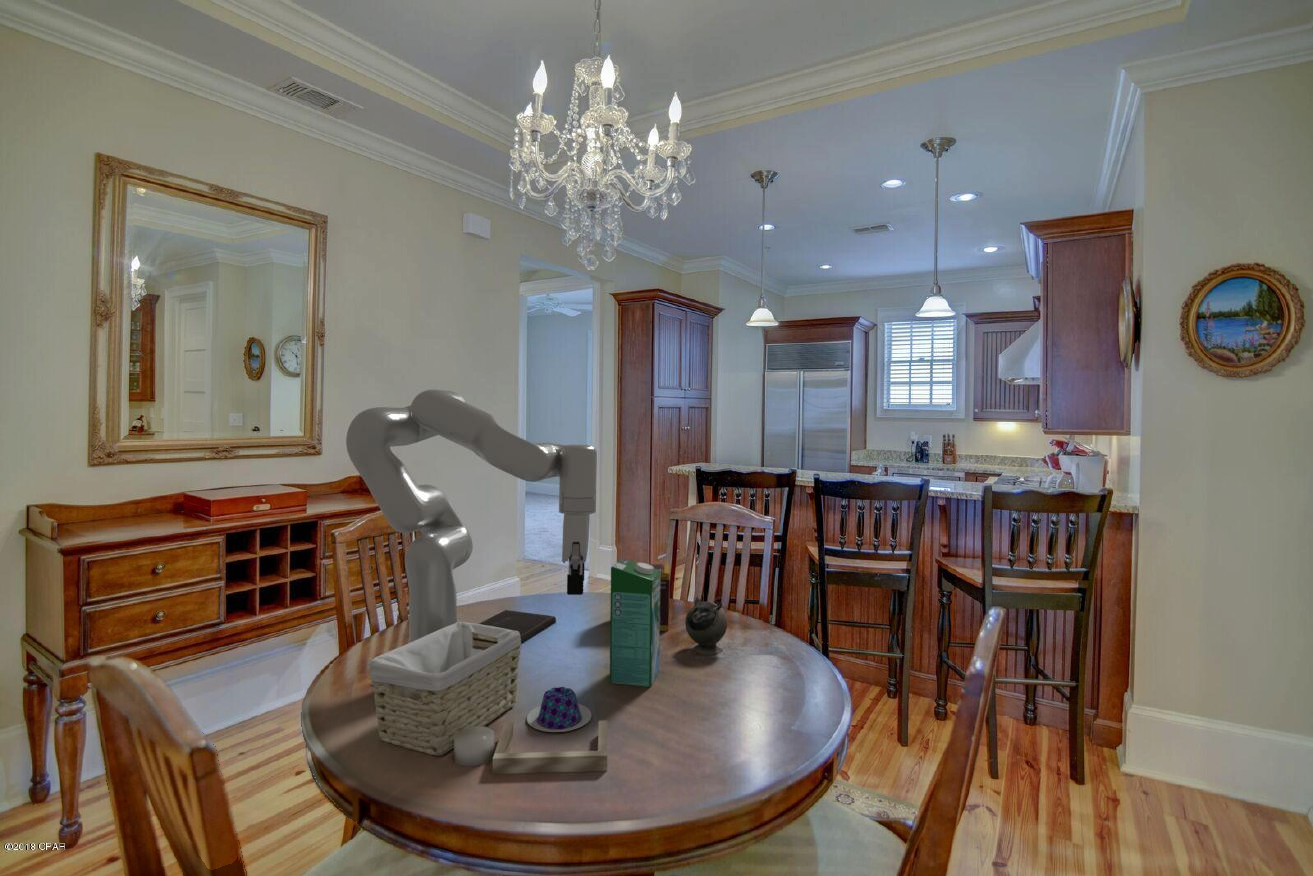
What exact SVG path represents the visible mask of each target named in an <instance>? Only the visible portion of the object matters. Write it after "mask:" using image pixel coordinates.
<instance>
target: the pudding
mask: <svg viewBox="0 0 1313 876" xmlns="http://www.w3.org/2000/svg"><path fill="white" fill-rule="evenodd" d="M592 716H593V715H592V711H591V709H590V708H588V707H586V706H585V705H583V704H580V703H579V702H578V697H577V694H576V692H574V690H573V689H572V688H571V687H569V688H568V687H565V686H559V687H551V688H550V689H548V690H546V691H545V692H544V694H543V697H542V701H541V705H539V706H536V707H535V708H533V709H532V710H530V711H529V713H528V714H527V716H526V722H527V724H528V725H529V726H530V727H532V728H533V729H535V730H539V731H542V732H549V733H560V732H562V733H564V732H569V731H573V730H575V729H577V730H578V729H579V728H581V727H583V726H585V725H586V724H588V723H589V722H590V721H591V719H592ZM578 721H579V722H578ZM541 725H542V726H541Z"/></svg>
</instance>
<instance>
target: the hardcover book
mask: <svg viewBox="0 0 1313 876" xmlns="http://www.w3.org/2000/svg"><path fill="white" fill-rule="evenodd" d="M556 623H557V618H556V617H555V616H554V615H547V614H541V613H540V614H538V613H534V612H533V613H532V612H525V611H524V612H523V611H516V610H510V609H509V610H508V609H504V610H503V611H500V612H499V613H497V614H495V615H494V616H491V617H489V618H487V619H485V620H483V621H481V622H479V623H478V624H481V625H487V626H493V627H498V628H504V629H509V630H513V631H518V632H519V633H520V638H521V645H523V644H525V643H526V642H528V641H529V640H530V639H532V638H534V637H536V636H537V635H538V634H541V633H542V632H543V631H545V630H547V629H548V628H550V627H551V626H553V625H555V624H556ZM497 643H498V642H496V641H491V640H486V639H480V638H475V637H473V647H474V646H476V647H480V648H486V649H487V648H489V647H491V646H493V645H495V644H497Z"/></svg>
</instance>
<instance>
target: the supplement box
mask: <svg viewBox="0 0 1313 876" xmlns="http://www.w3.org/2000/svg"><path fill="white" fill-rule="evenodd" d="M648 564H649V563H648ZM649 565H651V566H653V567H654V568H655V569H658V570H661V582H660V632H668V631H669V623H670V621H669V619H670V618H669V617H670V588H671V587H670V583H671V581H670V579H671V578H670V577H671V576H670V574H671V573H670V572H671V571H670V564H649Z"/></svg>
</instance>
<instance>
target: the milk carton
mask: <svg viewBox="0 0 1313 876" xmlns="http://www.w3.org/2000/svg"><path fill="white" fill-rule="evenodd" d="M660 582H661V570H658V569H655V568H654V567H653V566H651V565H649V563H645V562H636V561H633V560H629V559H626V558H625V557H624V558H623V557H622V558H620V559H619V560H618V561H616V563H614V564H613V565H612V566H611V567H610V621H609V623H610V627H609V629H610V631H609V635H610V636H609V684H618V685H626V686H627V685H629V686H638V687H646V688H647V687H648V688H651V687H652V686H653V683H654V682H655V679H656V678H657V675H658V674H659V672H660V648H661V647H660V646H661V645H660V644H661V643H660V642H661V637H660V636H661V631H660Z"/></svg>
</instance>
